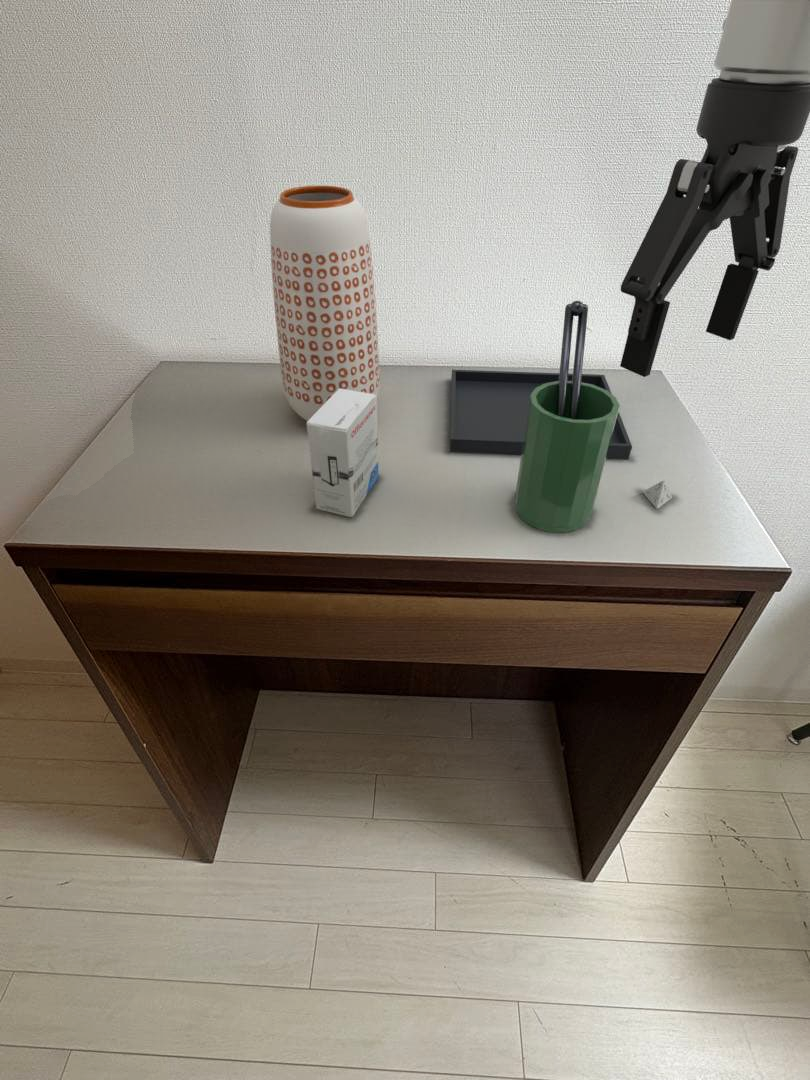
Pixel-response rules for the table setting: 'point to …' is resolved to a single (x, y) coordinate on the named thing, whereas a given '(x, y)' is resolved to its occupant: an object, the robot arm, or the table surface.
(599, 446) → the cup
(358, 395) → the ink box
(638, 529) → the table surface
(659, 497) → the tetrahedral die
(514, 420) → the tray
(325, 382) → the vase
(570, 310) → the tongs
